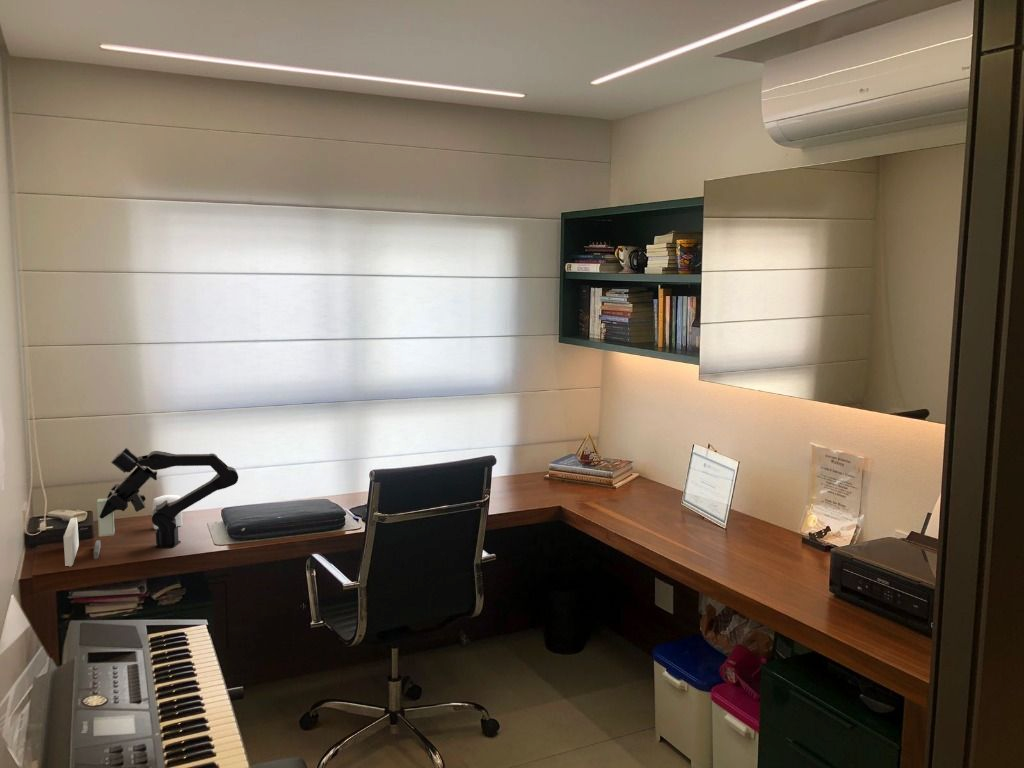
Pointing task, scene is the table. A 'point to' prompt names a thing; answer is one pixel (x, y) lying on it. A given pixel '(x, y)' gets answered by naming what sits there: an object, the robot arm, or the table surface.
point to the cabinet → (105, 520)
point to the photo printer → (169, 499)
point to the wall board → (75, 543)
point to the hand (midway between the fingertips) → (101, 515)
